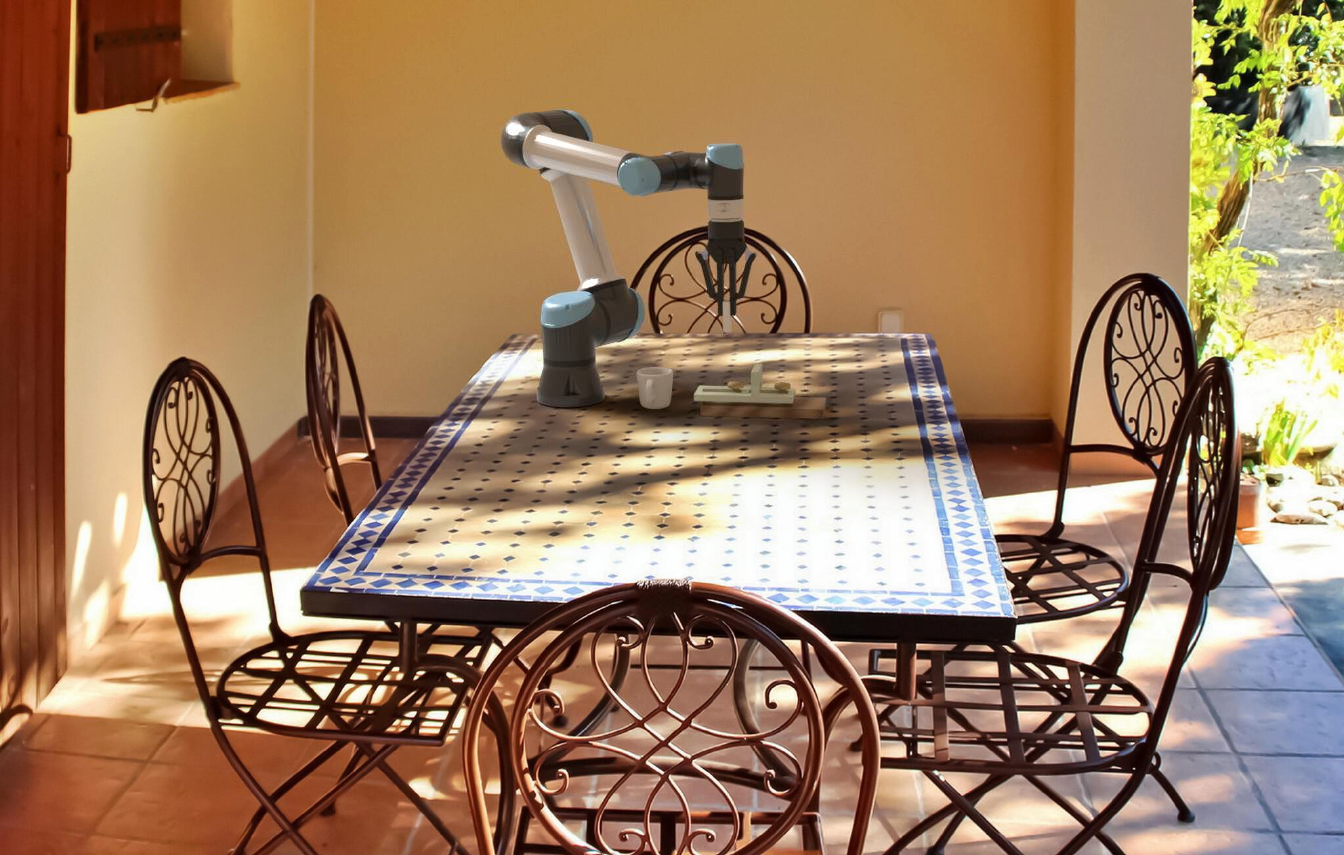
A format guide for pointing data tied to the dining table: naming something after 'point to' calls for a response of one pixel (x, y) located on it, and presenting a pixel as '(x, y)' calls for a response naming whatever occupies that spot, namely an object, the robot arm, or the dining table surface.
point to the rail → (766, 406)
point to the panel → (745, 392)
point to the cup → (655, 387)
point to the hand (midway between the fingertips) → (727, 330)
